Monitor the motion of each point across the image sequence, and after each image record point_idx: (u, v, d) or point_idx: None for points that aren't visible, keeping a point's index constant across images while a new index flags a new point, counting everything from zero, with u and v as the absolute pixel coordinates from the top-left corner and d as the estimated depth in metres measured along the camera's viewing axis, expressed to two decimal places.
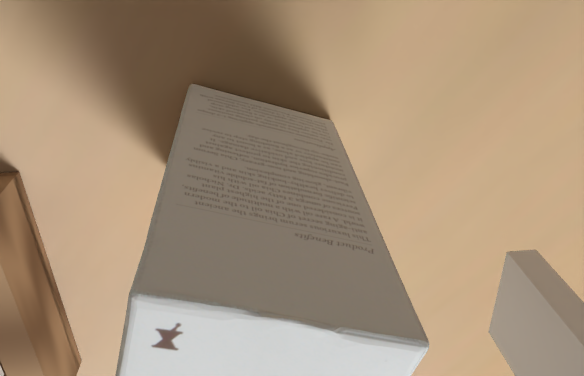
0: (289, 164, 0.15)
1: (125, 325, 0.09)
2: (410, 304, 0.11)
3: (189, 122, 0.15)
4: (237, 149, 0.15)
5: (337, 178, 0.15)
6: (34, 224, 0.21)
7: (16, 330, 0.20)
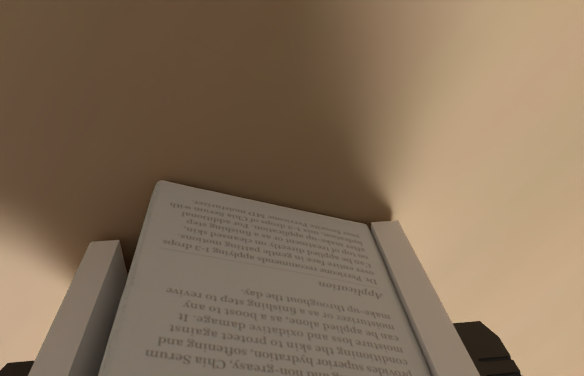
0: (315, 358, 0.09)
1: None
2: None
3: (146, 276, 0.09)
4: (227, 335, 0.08)
5: None
6: None
7: None
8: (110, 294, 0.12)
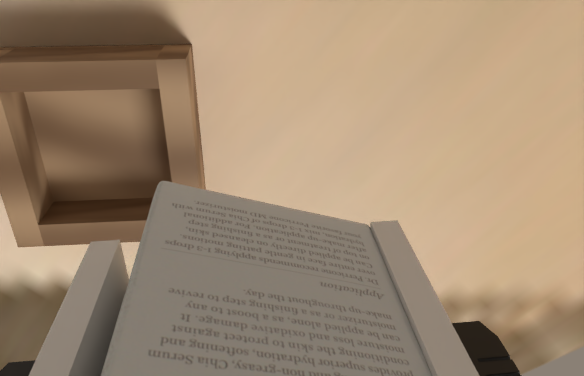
0: (318, 358, 0.09)
1: None
2: None
3: (148, 277, 0.09)
4: (229, 335, 0.09)
5: None
6: (195, 87, 0.29)
7: (189, 156, 0.27)
8: (110, 294, 0.12)
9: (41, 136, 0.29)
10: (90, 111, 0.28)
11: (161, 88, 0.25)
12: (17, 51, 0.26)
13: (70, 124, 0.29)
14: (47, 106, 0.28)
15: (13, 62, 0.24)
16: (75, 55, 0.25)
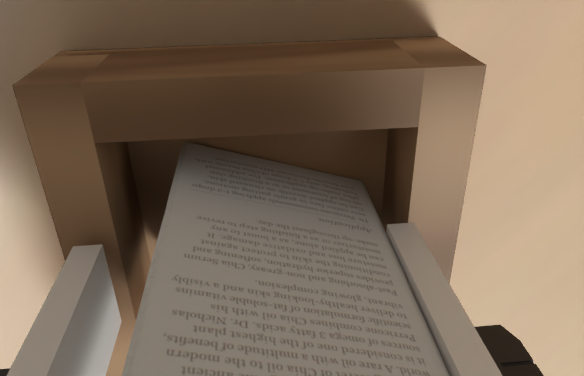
0: (315, 267, 0.11)
1: None
2: None
3: (180, 207, 0.11)
4: (245, 248, 0.11)
5: (381, 283, 0.11)
6: None
7: (443, 251, 0.14)
8: (91, 300, 0.12)
9: (150, 210, 0.16)
10: None
11: (422, 126, 0.12)
12: (121, 57, 0.13)
13: None
14: (165, 158, 0.15)
15: (129, 80, 0.11)
16: (245, 62, 0.12)
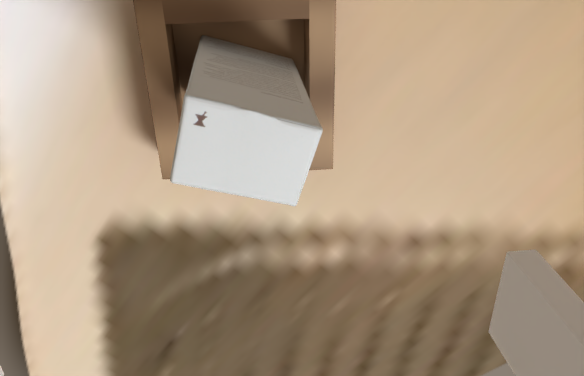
0: (261, 71, 0.26)
1: (181, 113, 0.20)
2: (317, 118, 0.22)
3: (203, 50, 0.27)
4: (231, 62, 0.26)
5: (289, 79, 0.26)
6: None
7: (328, 85, 0.30)
8: None
9: (183, 74, 0.31)
10: None
11: (311, 18, 0.28)
12: None
13: None
14: (192, 45, 0.30)
15: None
16: None
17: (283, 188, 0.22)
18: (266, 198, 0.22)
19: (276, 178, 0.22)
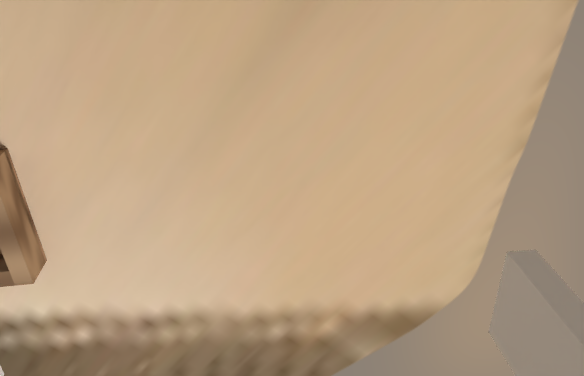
0: None
1: None
2: None
3: None
4: None
5: None
6: (16, 176, 0.40)
7: (7, 228, 0.39)
8: None
9: None
10: None
11: None
12: None
13: None
14: None
15: None
16: None
17: None
18: None
19: None
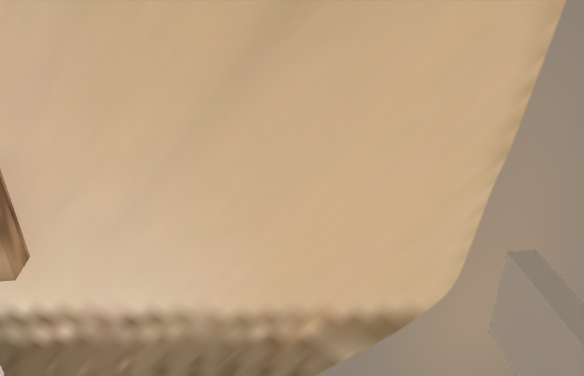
0: None
1: None
2: None
3: None
4: None
5: None
6: (0, 173, 0.40)
7: None
8: None
9: None
10: None
11: None
12: None
13: None
14: None
15: None
16: None
17: None
18: None
19: None
